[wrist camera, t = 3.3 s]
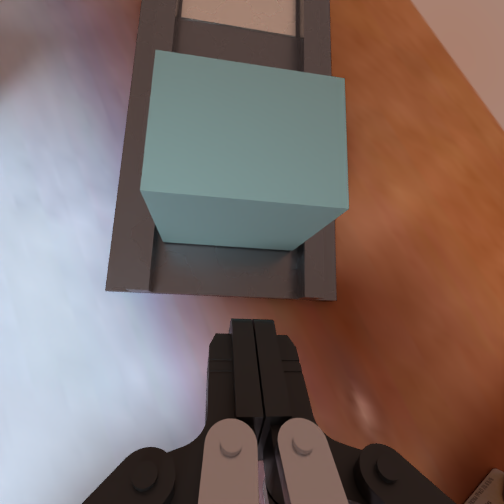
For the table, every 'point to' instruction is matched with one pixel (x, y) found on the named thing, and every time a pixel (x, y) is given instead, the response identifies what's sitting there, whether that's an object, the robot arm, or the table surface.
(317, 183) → the block
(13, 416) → the table surface
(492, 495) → the coffee box
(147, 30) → the chute
